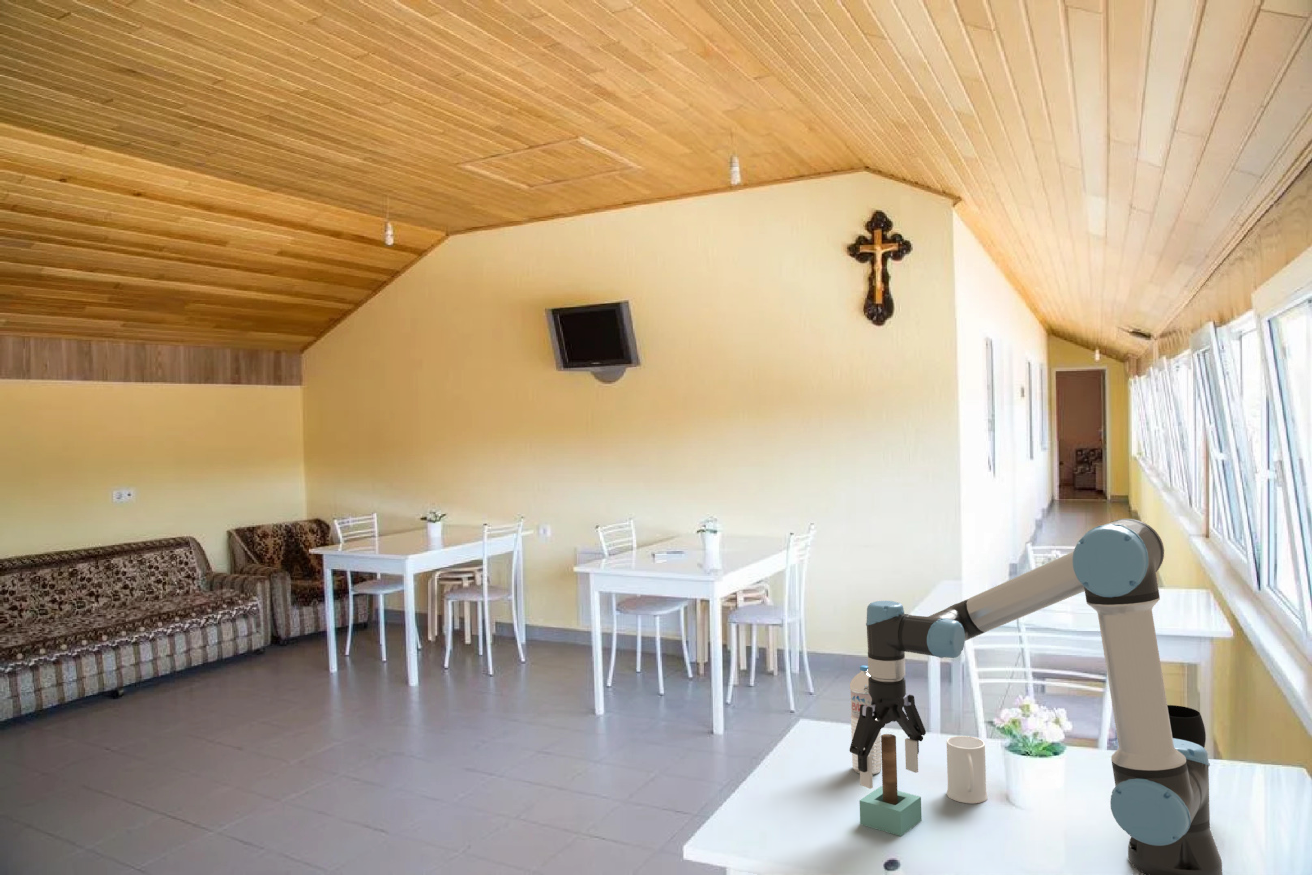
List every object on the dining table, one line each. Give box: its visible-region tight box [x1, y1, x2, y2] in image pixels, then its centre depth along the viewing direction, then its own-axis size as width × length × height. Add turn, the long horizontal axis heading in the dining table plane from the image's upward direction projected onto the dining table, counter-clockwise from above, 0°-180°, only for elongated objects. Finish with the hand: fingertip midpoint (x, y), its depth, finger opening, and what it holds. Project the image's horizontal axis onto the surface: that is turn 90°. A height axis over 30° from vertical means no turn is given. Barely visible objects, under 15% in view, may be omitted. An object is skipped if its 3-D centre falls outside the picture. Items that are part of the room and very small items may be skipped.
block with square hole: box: [859, 785, 923, 837], centre depth 192 cm, size 9×9×5 cm
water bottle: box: [849, 664, 882, 776], centre depth 221 cm, size 7×7×25 cm
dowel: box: [880, 733, 898, 805], centre depth 192 cm, size 3×3×18 cm
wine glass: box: [1167, 704, 1207, 748], centre depth 196 cm, size 10×10×20 cm
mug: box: [946, 735, 989, 804], centre depth 203 cm, size 12×8×12 cm
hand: (889, 778), depth 192 cm, fingers open, 13 cm apart
